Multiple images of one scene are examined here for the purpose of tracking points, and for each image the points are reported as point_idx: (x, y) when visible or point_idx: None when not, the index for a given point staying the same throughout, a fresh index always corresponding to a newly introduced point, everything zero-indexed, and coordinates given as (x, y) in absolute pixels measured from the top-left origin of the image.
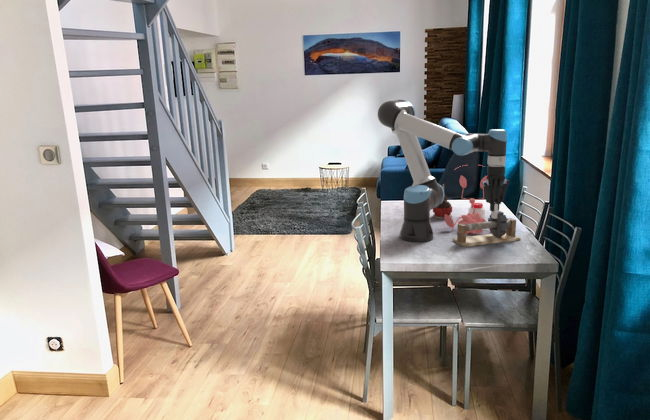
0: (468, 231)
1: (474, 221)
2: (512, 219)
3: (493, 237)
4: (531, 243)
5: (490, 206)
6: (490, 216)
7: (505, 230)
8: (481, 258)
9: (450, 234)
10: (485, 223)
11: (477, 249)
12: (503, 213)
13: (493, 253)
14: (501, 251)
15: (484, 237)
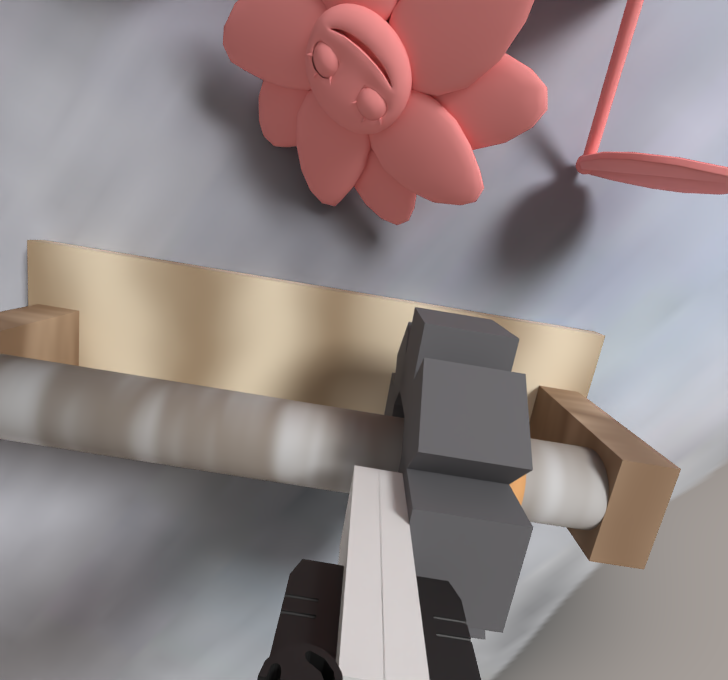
0: (292, 133)
1: (378, 92)
2: (633, 528)
3: (373, 401)
4: (540, 594)
5: (274, 646)
6: (418, 385)
7: None
8: (22, 649)
9: (130, 49)
10: (233, 472)
11: (103, 512)
12: (494, 619)
13: (152, 619)
14: (227, 615)
15: (305, 362)
